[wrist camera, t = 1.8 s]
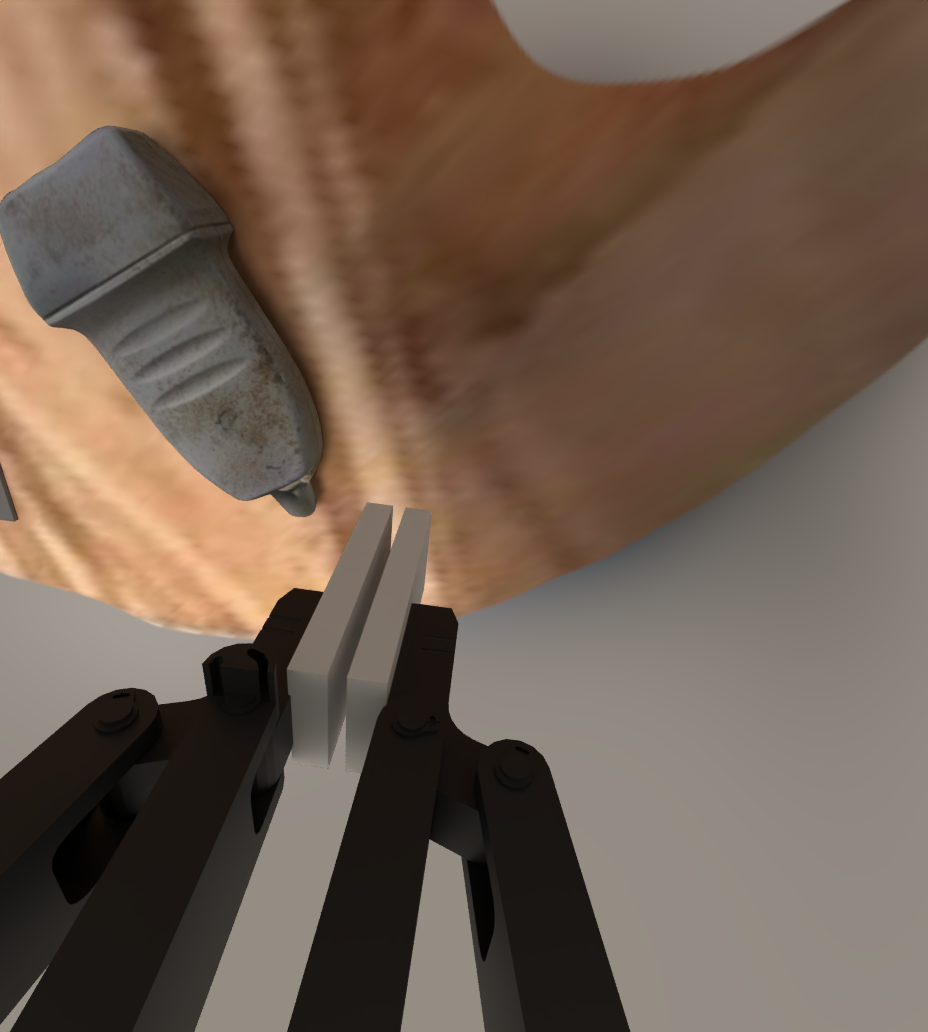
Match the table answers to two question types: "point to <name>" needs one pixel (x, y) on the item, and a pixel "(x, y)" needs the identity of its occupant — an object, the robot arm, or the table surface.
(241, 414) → the handheld device
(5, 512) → the strip
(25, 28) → the table surface
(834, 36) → the table surface
